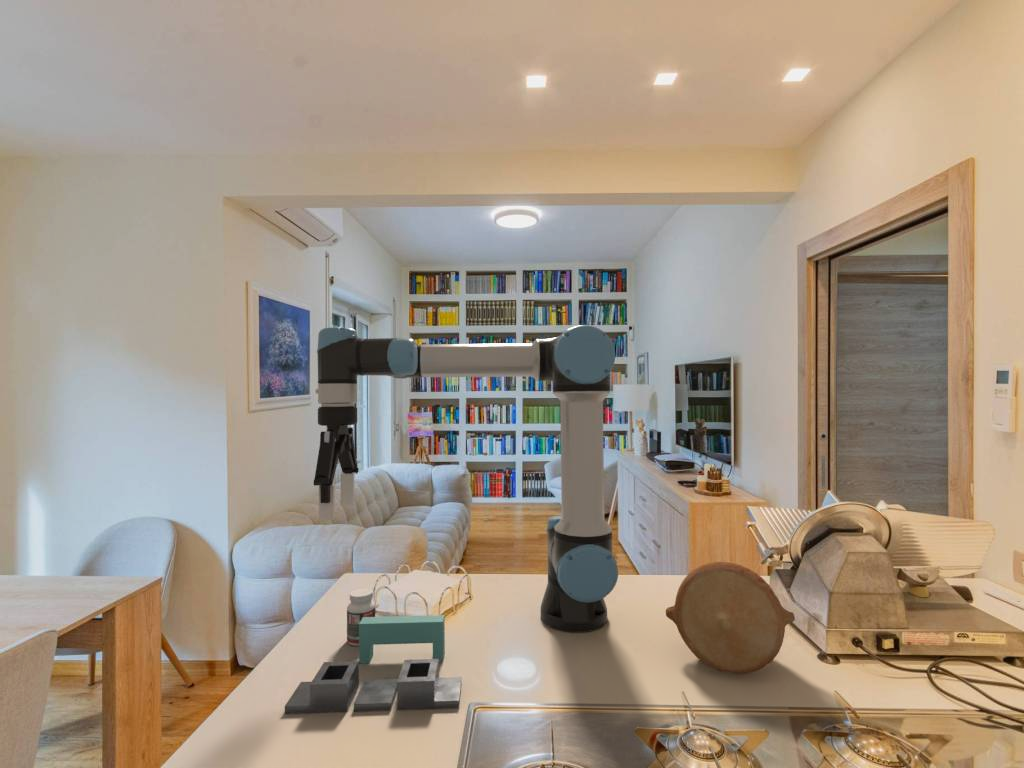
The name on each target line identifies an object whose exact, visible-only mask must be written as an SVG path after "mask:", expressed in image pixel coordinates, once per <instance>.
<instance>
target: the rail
mask: <svg viewBox="0 0 1024 768" xmlns="http://www.w3.org/2000/svg"><path fill="white" fill-rule="evenodd" d="M439 662H440V661H439V659H433V658H428V659H427V658H421V659H404V661H403V663H402V667H401V669H400V673H399V676H398V678H389V679H388V678H385V679H364V680H363V683H362V685H361V687H360V684H359V681H360V680H359V679H360V678H359V677H360V674H359V671H360V670H359V668H360V667H359V660H355V661H354V660H352V661H350V660H349V661H324V662H323V663H322V665H321V666H320V668H319V670H318V671H317V673H316V674H315V676H313V677H314V678H313V679H312V681H300V682H299V684H298V686H297V687H296V689H295V690H294V692H293V693H292V695H291V696H290V698H289V699H288V700H287V702H286V703H285V705H284V714H285V715H286V714H287V715H289V714H291V715H292V714H314V713H315V714H316V713H317V714H318V713H320V714H321V713H347V712H348V711H349V709H350V707H351V704H352V703H353V712H377V711H378V712H379V711H380V712H381V711H392V709H393V705H394V702H395V699H396V701H397V702H396V707H397V708H396V710H397V711H408V710H410V711H411V710H413V711H414V710H438V709H440V710H441V709H460V703H461V702H460V701H461V693H462V692H461V691H462V684H463V683H462V681H463V680H462V676H453V677H452V676H451V677H447V676H446V677H440V670H439V669H440V663H439ZM359 687H360V688H359ZM358 689H359V691H358ZM356 694H357V696H356ZM355 696H356V698H355ZM354 699H355V700H354ZM353 700H354V702H353Z"/></svg>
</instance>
